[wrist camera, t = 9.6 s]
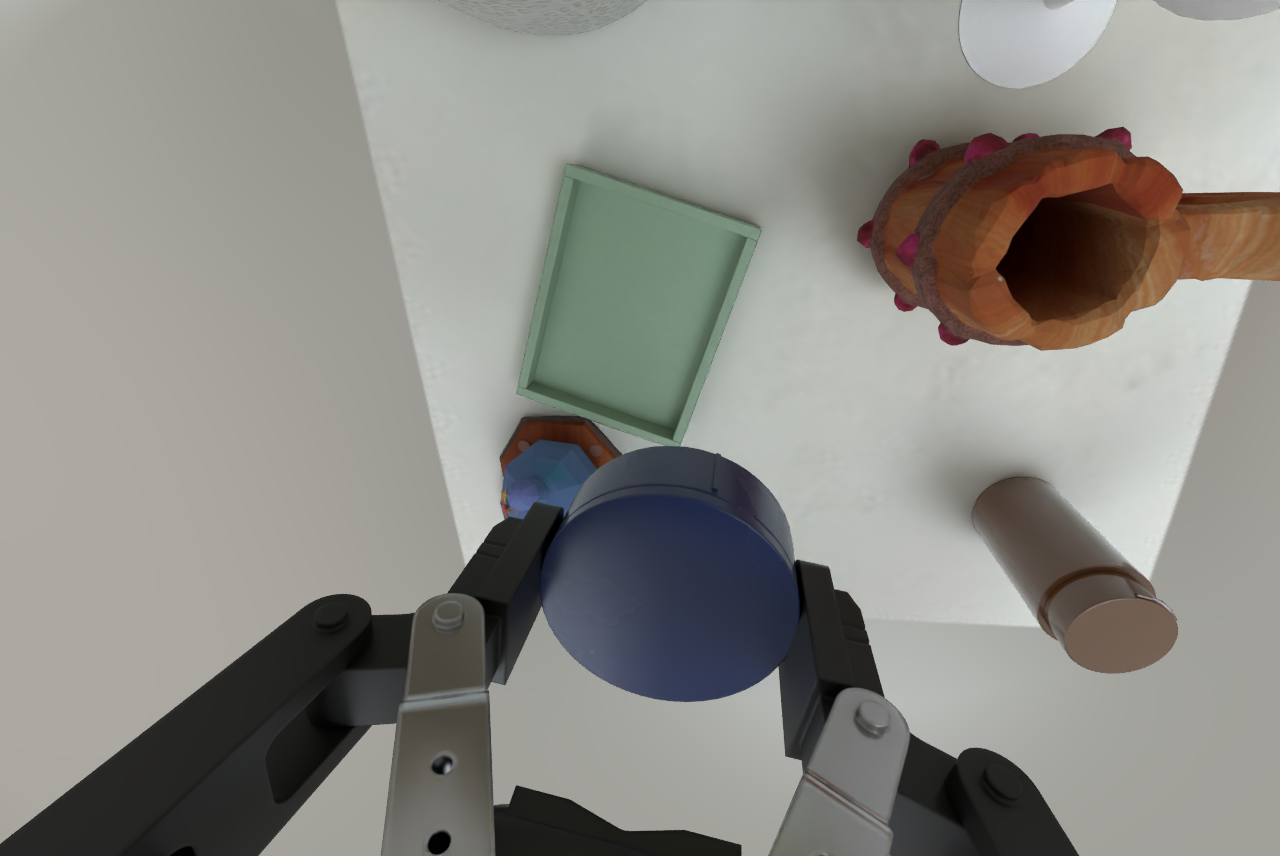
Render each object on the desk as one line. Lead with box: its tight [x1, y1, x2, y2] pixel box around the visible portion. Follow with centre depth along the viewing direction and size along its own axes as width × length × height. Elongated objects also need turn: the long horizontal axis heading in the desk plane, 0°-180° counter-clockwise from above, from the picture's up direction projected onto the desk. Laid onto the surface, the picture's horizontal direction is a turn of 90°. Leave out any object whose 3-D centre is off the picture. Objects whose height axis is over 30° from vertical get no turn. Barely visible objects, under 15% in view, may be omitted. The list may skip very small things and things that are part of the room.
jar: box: [972, 477, 1178, 673], centre depth 31 cm, size 5×5×11 cm
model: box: [500, 416, 621, 519], centre depth 37 cm, size 12×9×9 cm
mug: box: [857, 127, 1280, 351], centre depth 23 cm, size 15×8×15 cm, turn 93°
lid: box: [539, 446, 800, 702], centre depth 13 cm, size 6×6×2 cm
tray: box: [516, 164, 762, 446], centre depth 34 cm, size 14×11×2 cm
